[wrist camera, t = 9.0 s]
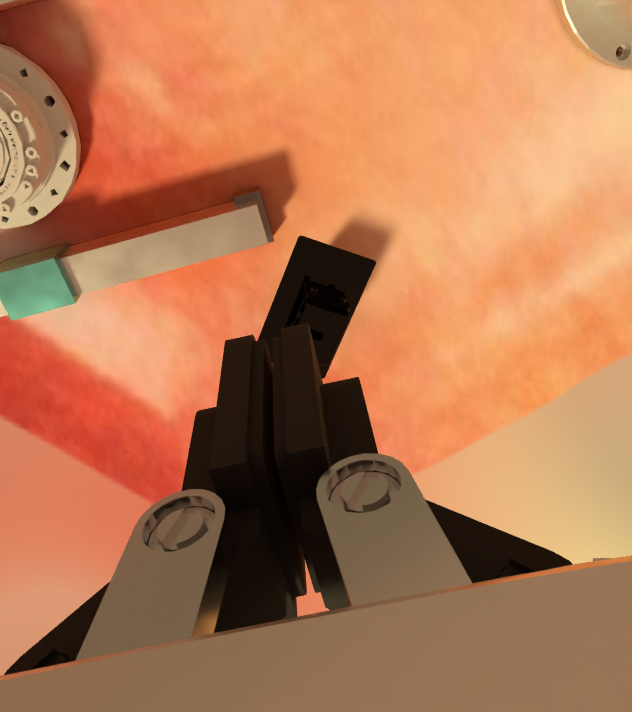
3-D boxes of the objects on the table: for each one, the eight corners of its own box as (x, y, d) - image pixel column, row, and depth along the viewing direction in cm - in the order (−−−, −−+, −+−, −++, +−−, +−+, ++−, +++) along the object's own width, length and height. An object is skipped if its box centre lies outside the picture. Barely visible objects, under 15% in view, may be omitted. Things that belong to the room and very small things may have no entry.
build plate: (295, 204, 38) (301, 224, 34) (398, 242, 40) (415, 266, 36) (234, 367, 43) (232, 402, 39) (327, 395, 45) (335, 430, 41)
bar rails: (172, -111, 30) (165, -124, 27) (273, 236, 38) (275, 250, 36) (-186, -6, 30) (-226, -10, 28) (-7, 312, 39) (-24, 332, 36)
